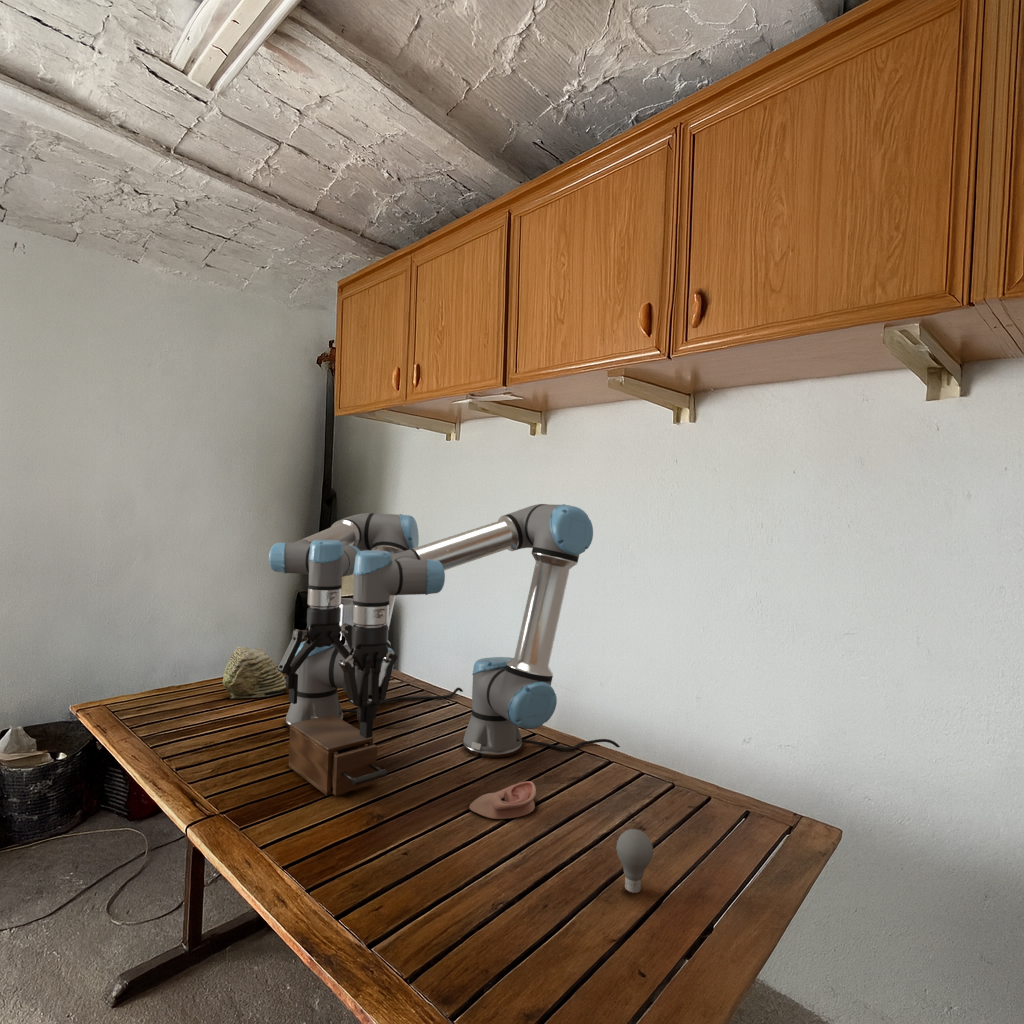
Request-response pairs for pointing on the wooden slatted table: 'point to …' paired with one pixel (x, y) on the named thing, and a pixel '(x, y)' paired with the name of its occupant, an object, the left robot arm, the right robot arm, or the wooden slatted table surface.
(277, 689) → the fossil
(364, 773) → the drawer
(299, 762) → the cabinet
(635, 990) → the wooden slatted table surface
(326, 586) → the left robot arm
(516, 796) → the anatomical model
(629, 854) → the light bulb
